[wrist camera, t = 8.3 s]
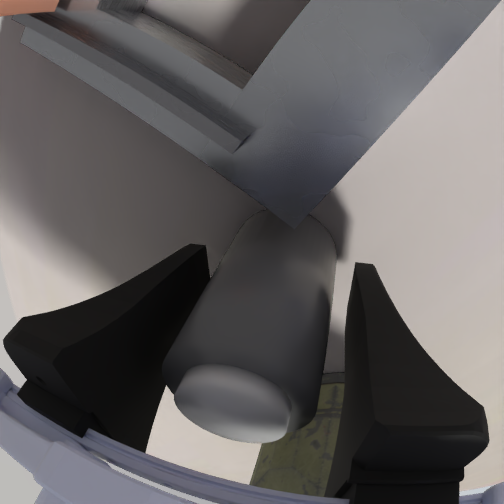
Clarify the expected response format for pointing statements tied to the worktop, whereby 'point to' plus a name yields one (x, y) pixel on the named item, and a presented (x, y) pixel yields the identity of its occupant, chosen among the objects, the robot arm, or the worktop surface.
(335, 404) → the green stone statue
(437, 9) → the socket plate
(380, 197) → the worktop surface
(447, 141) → the worktop surface
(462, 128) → the worktop surface
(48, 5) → the orange square block
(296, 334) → the plug
